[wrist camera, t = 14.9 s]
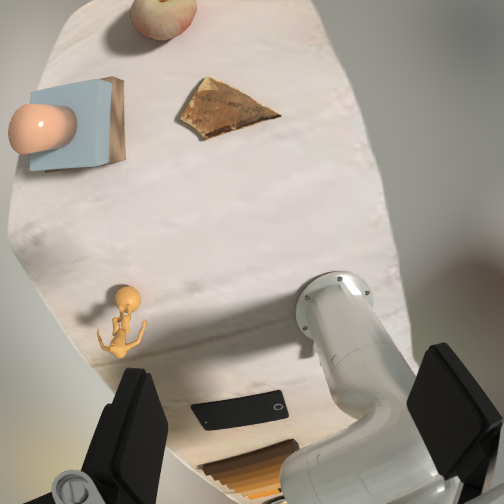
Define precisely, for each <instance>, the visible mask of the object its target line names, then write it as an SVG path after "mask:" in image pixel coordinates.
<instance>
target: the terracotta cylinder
mask: <svg viewBox="0 0 504 504" xmlns="http://www.w3.org/2000/svg"><path fill="white" fill-rule="evenodd" d="M76 131H77V117H76V115H75V113H74V111H73V110H72V109H71V108H69V107H67V106H58V105H44V104H25V105H23V106H21V107H20V108H19V109H17V111H16V112H15V113H14V115H13V117H12V118H11V121H10V124H9V130H8V136H9V141H10V144H11V146H12V148H13V149H14V150H15V151H16V152H17V153H19V154H30V153H35V152H40V151H46V150H51V149H57V148H63V147H65V146H67V145H68V144H69V143H70V142H71V141H72V140H73V138H74V136H75V134H76Z"/></svg>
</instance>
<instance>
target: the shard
mask: <svg viewBox="0 0 504 504" xmlns="http://www.w3.org/2000/svg"><path fill="white" fill-rule="evenodd" d="M279 117H281V115H279V114H278V113H276V112H274V111H273V110H271V109H270V108H267V107H265V106H263V105H262V104H260V103H258V102H256V101H255V100H253V99H252V98H251V97H249V96H247V95H246V94H243V93H242V92H240V91H239V90H237V89H235V88H232V87H230V86H229V85H227V84H225V83H223V82H220V81H216V80H214V79H212V78H211V77H206V78H205V79H204V80H203V82H202V83H201V85H200V86H199V87H198V89H197V91H196V92H195V94H194V96H193V98H192V99H191V101H190V103H189V104H188V106H187V108H186V109H185V110H184V111H183V113H182V114H181V118H180V119H181V120H182V121H184V122H186V123H188V124H189V125H191V126H192V127H194V128H195V129H196V130H197V131H198V132H200V134H202V136H203V139H204V140H205V141H206V140H208V139H210V138H213V137H216V136H220V135H223V134H225V133H228V132H231V131H234V130H237V129H243V128H244V127H248V126H252V125H255V124H257V123H260V122H263V121H266V120H269V119H275V118H279Z"/></svg>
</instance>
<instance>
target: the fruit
mask: <svg viewBox="0 0 504 504" xmlns="http://www.w3.org/2000/svg"><path fill="white" fill-rule="evenodd" d="M196 10H197V4H196V0H134V2H133V4H132V7H131V16H130V17H131V20H132V24H133V25H134V27H135V28H136V29H137V30H138V31H139V32H140V33H142V34H143V35H145V36H147V37H149V38H152V39H156V40H168V39H172V38H174V37H176V36H178V35H180V34H181V33H183V32H184V31H185V30H186V29H187V28H188V27H189V25H190V24H191V22H192V20H193V18H194V16H195V13H196Z"/></svg>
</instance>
